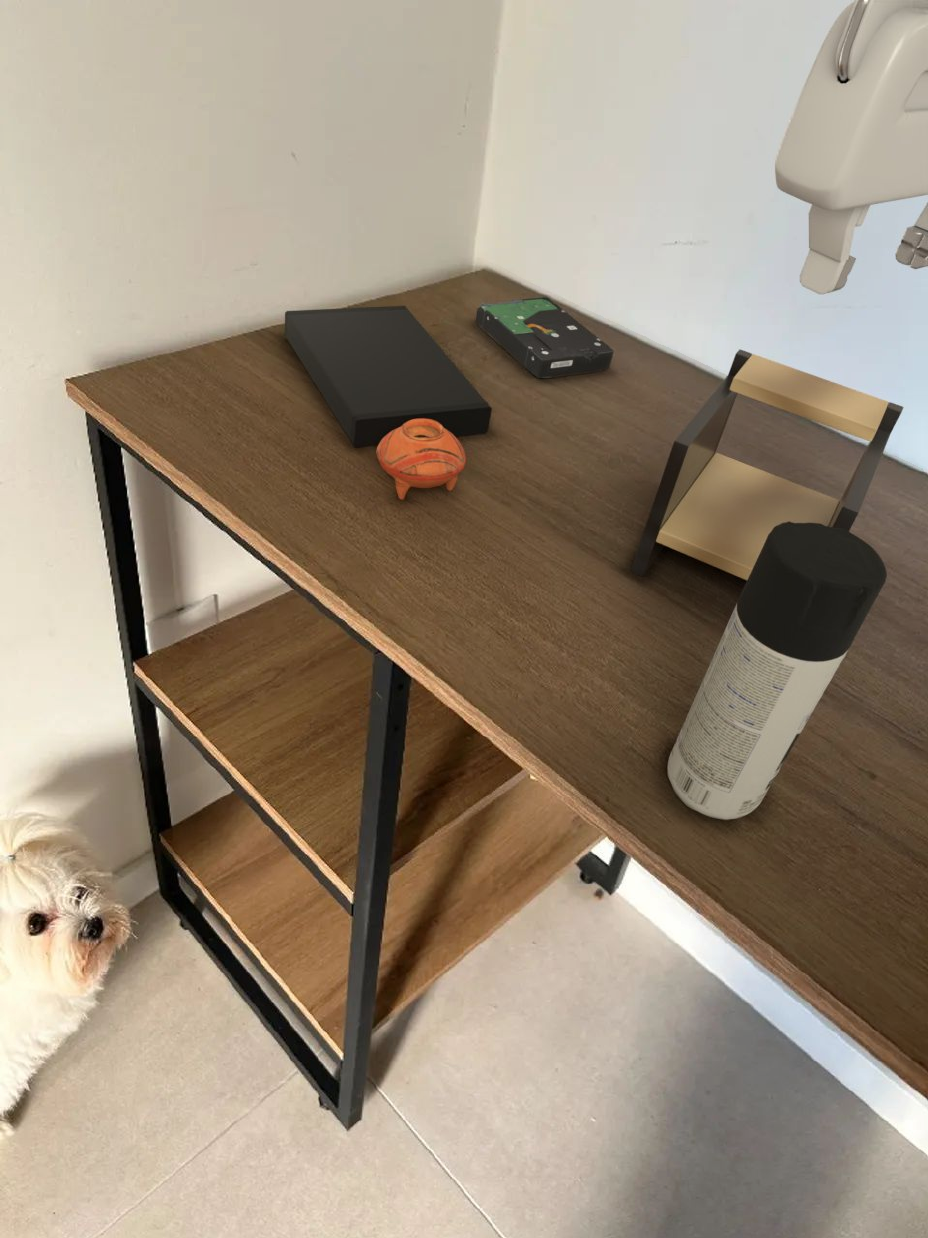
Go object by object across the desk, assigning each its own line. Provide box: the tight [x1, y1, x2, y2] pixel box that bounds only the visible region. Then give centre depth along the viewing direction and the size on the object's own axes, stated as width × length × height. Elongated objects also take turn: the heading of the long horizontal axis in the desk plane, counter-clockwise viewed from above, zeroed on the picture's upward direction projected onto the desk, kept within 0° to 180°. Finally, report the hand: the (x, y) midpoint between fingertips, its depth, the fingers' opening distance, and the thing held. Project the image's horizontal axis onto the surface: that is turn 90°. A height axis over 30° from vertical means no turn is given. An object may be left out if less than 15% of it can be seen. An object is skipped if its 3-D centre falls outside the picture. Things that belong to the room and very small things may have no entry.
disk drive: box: [475, 296, 615, 379], centre depth 110 cm, size 10×3×15 cm
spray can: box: [666, 521, 888, 821], centre depth 57 cm, size 7×7×20 cm
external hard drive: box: [284, 305, 493, 448], centre depth 97 cm, size 14×23×3 cm, turn 25°
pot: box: [375, 418, 467, 500], centre depth 83 cm, size 8×8×7 cm
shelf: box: [630, 349, 904, 581], centre depth 79 cm, size 14×16×15 cm
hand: (868, 275), depth 49 cm, fingers open, 8 cm apart
